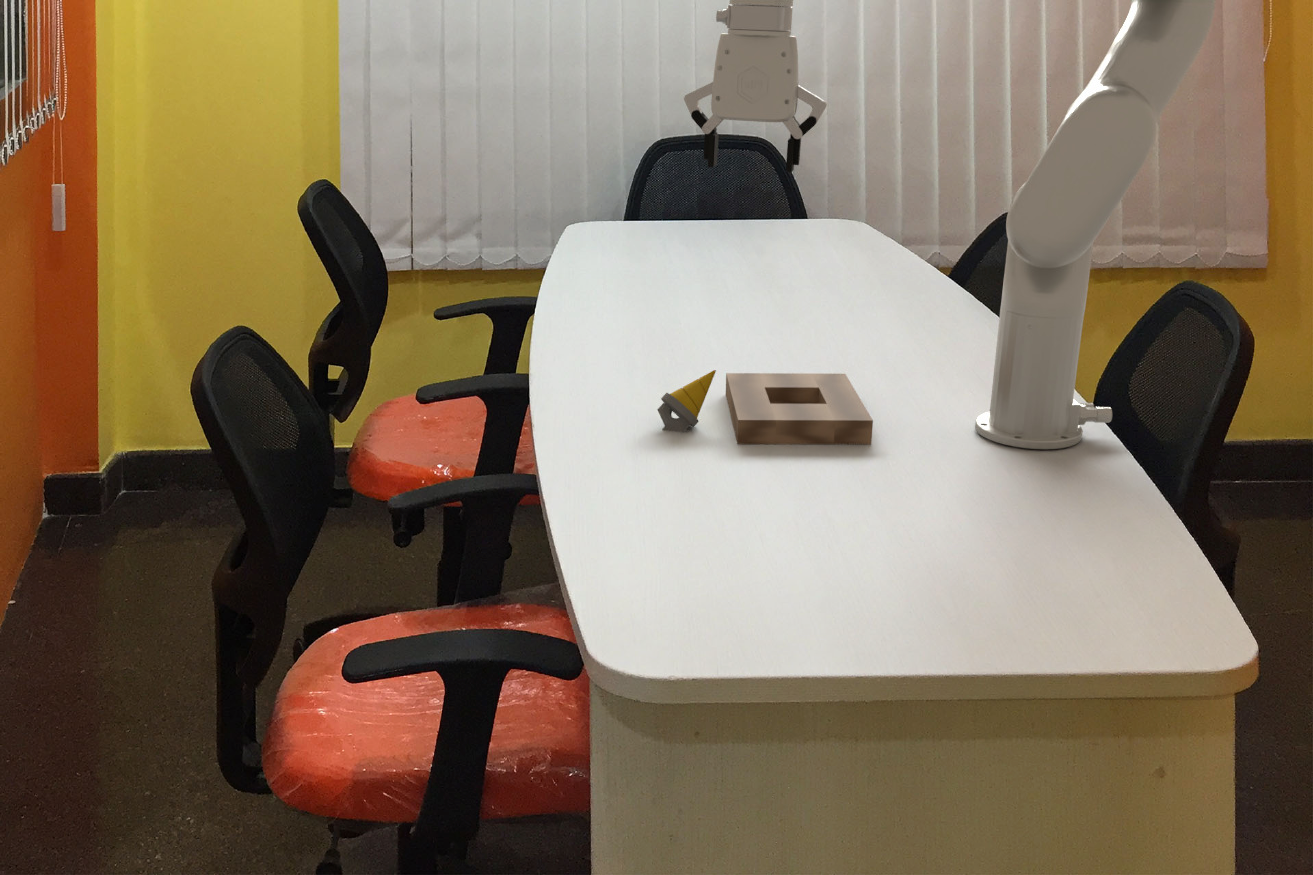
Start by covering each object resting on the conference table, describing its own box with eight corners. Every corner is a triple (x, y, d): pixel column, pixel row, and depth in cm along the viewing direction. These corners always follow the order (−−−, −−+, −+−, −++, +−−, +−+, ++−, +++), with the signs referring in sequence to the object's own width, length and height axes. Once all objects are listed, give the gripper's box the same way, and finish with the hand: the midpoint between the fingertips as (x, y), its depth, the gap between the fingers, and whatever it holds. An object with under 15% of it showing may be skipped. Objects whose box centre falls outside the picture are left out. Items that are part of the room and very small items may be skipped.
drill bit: (652, 424, 151) (704, 365, 152) (682, 449, 149) (735, 390, 150) (641, 410, 146) (695, 349, 147) (672, 435, 144) (727, 374, 145)
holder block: (843, 395, 162) (845, 373, 161) (871, 444, 143) (873, 420, 142) (725, 394, 162) (726, 373, 161) (737, 443, 143) (738, 420, 142)
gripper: (682, 19, 141) (676, 168, 147) (830, 25, 138) (818, 176, 144) (693, 19, 148) (687, 161, 153) (834, 25, 145) (823, 169, 150)
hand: (750, 168), depth 149 cm, fingers open, 9 cm apart
